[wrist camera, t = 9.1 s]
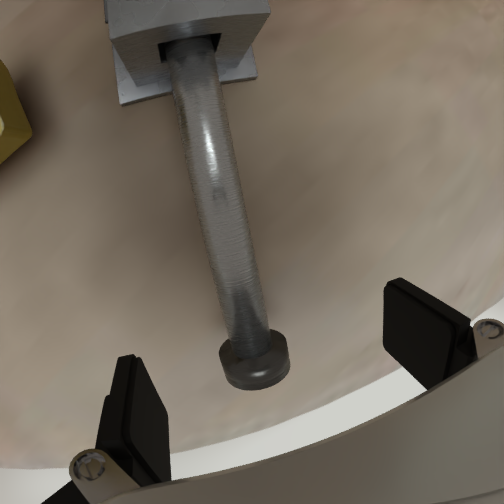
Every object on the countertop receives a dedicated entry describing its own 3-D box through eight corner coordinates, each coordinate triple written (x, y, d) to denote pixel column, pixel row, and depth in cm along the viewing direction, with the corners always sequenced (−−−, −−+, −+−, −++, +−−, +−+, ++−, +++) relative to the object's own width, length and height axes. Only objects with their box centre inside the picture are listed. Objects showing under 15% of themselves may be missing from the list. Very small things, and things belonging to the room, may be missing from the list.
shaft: (143, -1, 16) (136, -35, 11) (209, -12, 16) (217, -48, 12) (221, 359, 24) (231, 397, 19) (279, 342, 25) (299, 377, 20)
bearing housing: (112, 25, 19) (80, -43, 9) (237, 2, 21) (270, -71, 10) (122, 106, 22) (82, 65, 11) (255, 79, 23) (302, 27, 13)
